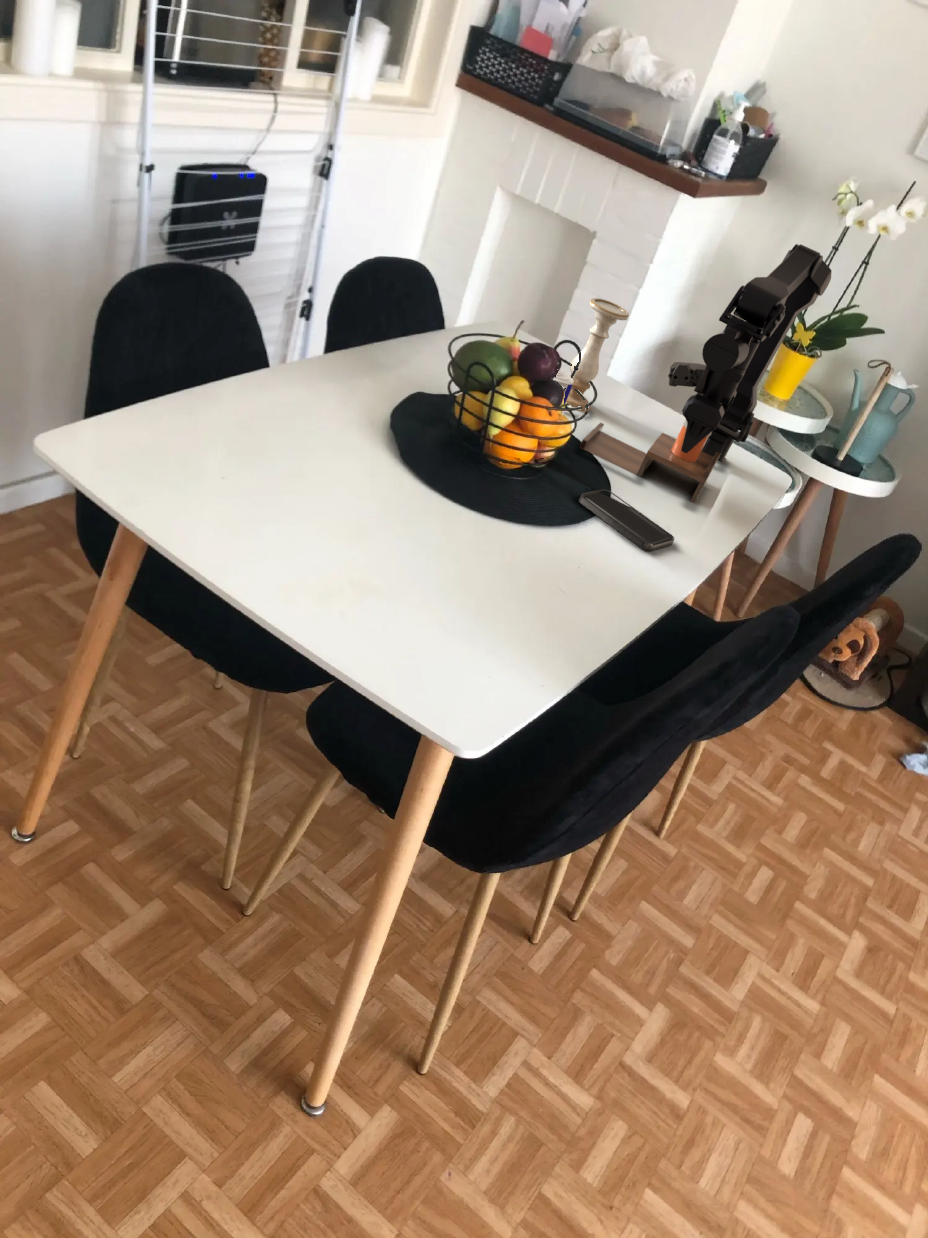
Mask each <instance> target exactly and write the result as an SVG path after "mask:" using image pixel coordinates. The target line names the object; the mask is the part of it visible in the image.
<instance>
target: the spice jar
mask: <svg viewBox="0 0 928 1238" xmlns="http://www.w3.org/2000/svg"><path fill="white" fill-rule="evenodd" d="M686 428H687V421H686V418H685V419H684V421H683V423H682V426H681V428H680V430H679V432H678V434H677V437H676V438H675V439H676V440H675V442H674V444H673V447H672V449H671V451H672V452H673V453H674V454H675V455H676V456H678V457H679V458H681V459H683V460H686V461H690V462H695V461H697V459H698V457H699V455H700V453H701V451H702V449H703V447H704V445H705V443H706V441H707V439H708V437H709V436H710V434H711V433H712V432H711V433H710V434H708V435H707V436H706V437H705V438H704V439H703V440H701V441H700V442H699V443H698V444H697V445H696V446H695V447H693V448H692V449H691V450H690V451H689V452H688V453H684V452H682V451H681V449H682V445H683V441H684V437H685V432H686Z"/></svg>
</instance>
